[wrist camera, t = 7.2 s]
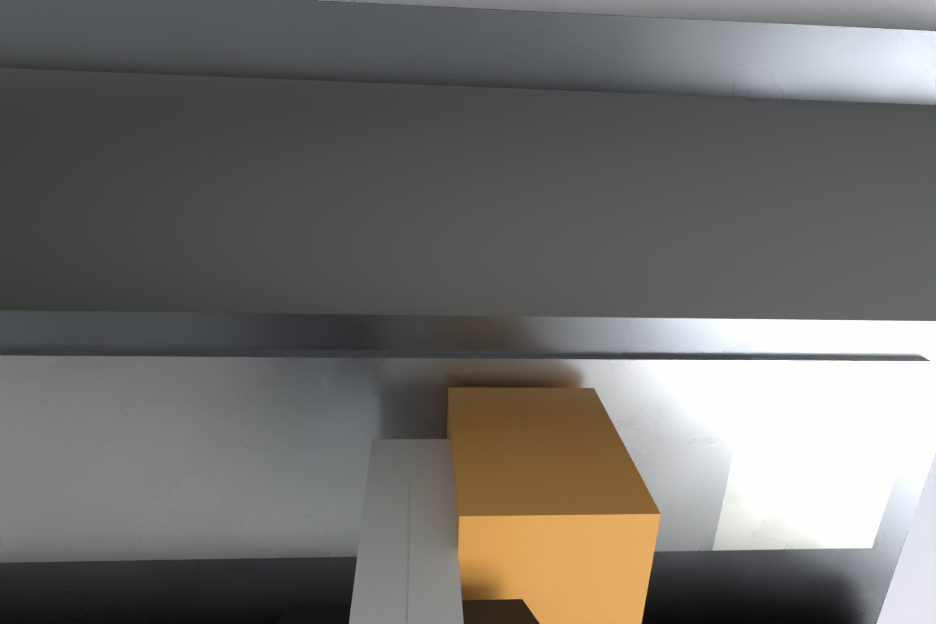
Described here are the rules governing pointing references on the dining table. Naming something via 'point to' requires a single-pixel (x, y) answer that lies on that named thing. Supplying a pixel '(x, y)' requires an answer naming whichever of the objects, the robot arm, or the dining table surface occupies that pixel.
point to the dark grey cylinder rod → (459, 200)
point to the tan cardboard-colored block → (549, 505)
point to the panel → (450, 354)
